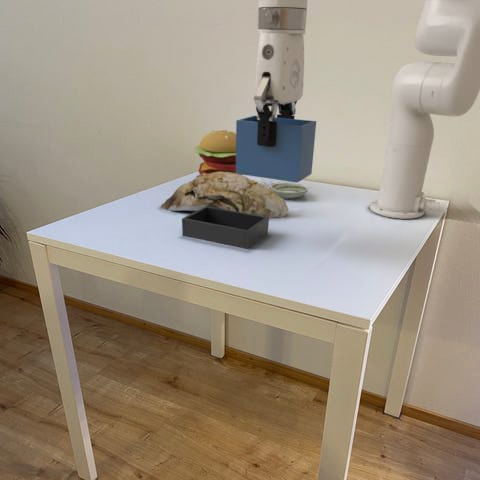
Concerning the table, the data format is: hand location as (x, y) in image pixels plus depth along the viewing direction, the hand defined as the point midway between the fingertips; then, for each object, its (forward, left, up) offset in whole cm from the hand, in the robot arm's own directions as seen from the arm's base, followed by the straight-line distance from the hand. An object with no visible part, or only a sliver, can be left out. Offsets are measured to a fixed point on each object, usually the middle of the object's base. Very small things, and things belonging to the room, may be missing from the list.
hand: (275, 141), depth 84 cm
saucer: (+9, -34, -20) cm, 40 cm away
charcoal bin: (+10, 0, -19) cm, 22 cm away
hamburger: (+27, -31, -20) cm, 46 cm away
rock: (+18, -16, -20) cm, 31 cm away
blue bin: (0, 0, -6) cm, 6 cm away
